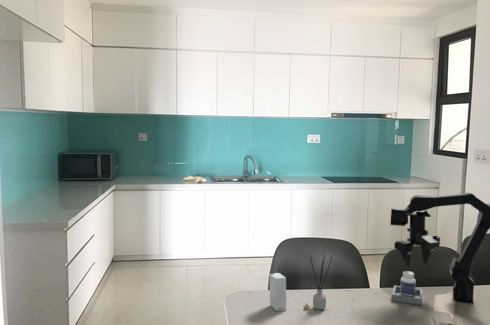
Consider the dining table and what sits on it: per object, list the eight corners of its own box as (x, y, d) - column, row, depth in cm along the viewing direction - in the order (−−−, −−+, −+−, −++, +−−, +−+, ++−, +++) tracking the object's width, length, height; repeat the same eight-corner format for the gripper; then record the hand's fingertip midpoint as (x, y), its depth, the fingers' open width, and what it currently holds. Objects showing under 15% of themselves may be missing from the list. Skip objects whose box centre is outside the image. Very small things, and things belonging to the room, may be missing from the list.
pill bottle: (416, 300, 152) (417, 275, 152) (401, 299, 153) (402, 274, 153) (413, 294, 158) (414, 270, 157) (399, 293, 159) (399, 269, 158)
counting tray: (422, 295, 158) (422, 289, 158) (421, 305, 149) (422, 299, 148) (394, 291, 163) (394, 285, 162) (391, 300, 153) (392, 294, 153)
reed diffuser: (328, 305, 148) (330, 252, 147) (334, 313, 141) (336, 258, 140) (302, 306, 147) (303, 253, 146) (307, 314, 140) (308, 259, 139)
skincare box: (286, 310, 143) (287, 277, 143) (275, 312, 142) (276, 279, 141) (279, 303, 149) (280, 272, 149) (268, 305, 148) (269, 273, 147)
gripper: (415, 233, 148) (414, 274, 149) (451, 228, 155) (450, 268, 156) (393, 227, 158) (393, 265, 159) (428, 223, 165) (427, 260, 166)
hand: (416, 265), depth 160 cm, fingers open, 9 cm apart
